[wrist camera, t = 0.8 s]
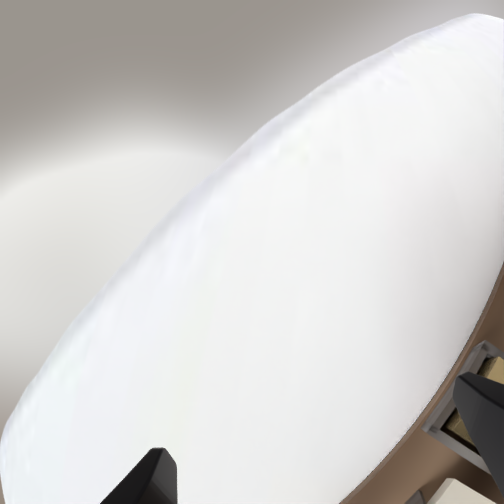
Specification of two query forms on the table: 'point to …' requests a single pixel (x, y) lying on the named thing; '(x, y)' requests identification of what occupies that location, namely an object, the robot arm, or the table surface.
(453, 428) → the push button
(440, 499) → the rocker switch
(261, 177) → the table surface
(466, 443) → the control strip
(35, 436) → the table surface
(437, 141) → the table surface
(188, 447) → the table surface
